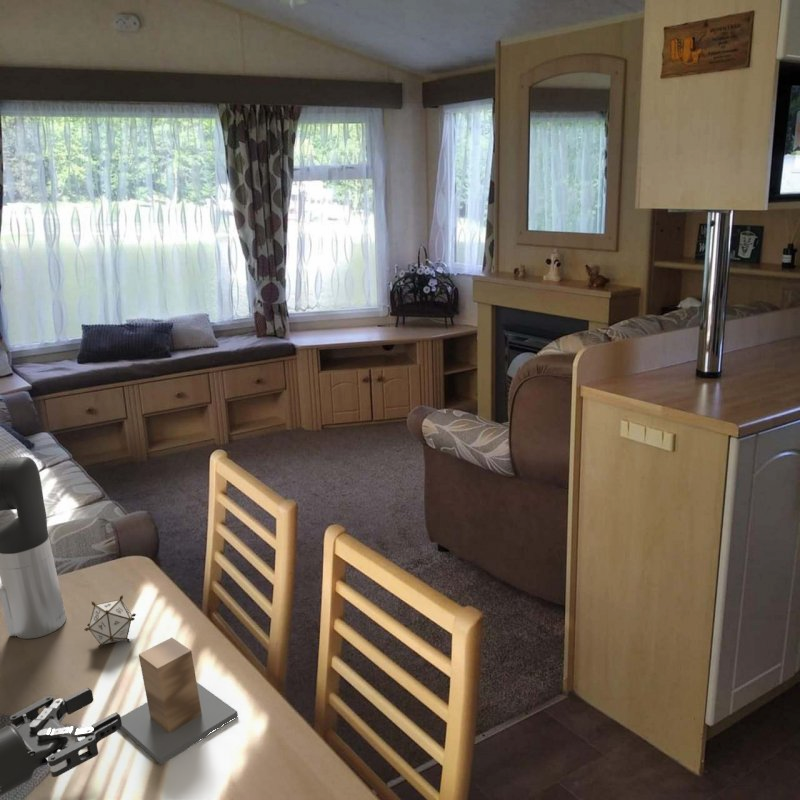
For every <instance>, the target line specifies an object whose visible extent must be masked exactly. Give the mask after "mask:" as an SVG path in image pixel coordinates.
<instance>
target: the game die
mask: <svg viewBox="0 0 800 800" xmlns="http://www.w3.org/2000/svg"><path fill="white" fill-rule="evenodd" d="M123 598H124V595H122V594H121V596H120V597H119V599H115V600H112V601H105V602H102V603H97V604H96V602H94V601H90V602H91V605H92V606H93V610H92V613H91V616H90V620H89V621H90V622H89V623H87V624H86V625H87V627H85V628H84V629H83V631H86V632H87V631H89V632H90V633H91V634H92V636H93V637H94V638H95V640H96V641H97V642H98V644H99V645H98V650H101V648H103V645H107V644H112V643H117V642H120V641H121V642H122V641H125V640H126V641H125V642H127V643H131V641H130V638H128V636H129V632H130V627H131V623H132V622H133V621H134V620H136V619H135V618H134V617H136V616H137V614H136V613H131V612H130V611H129V609H128V607H127V606H126V604H125V603H124V602H123Z"/></svg>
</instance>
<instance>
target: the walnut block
mask: <svg viewBox="0 0 800 800" xmlns="http://www.w3.org/2000/svg"><path fill="white" fill-rule="evenodd" d="M138 659H139V665H140V671H141V674H142V680H143V685H144V692H145V696H146V703H147V702H148V707H149V713H150V718H152V719H153V720H154V721H155V722H156V723H158V724H159V725H160V726H161V727H162V728H163V729H165V730H166V731H167V732H168V733H171V732H172V731H174V730H176V729H177V728H179V727H181V726H183V725H184V724H186V723H188V722H189V721H191V720H193V719H194V718H196V717H198V716H199V715H201V714H202V712H201V706H200V700H199V694H198V688H197V683H198V682H197V677H196V672H195V671H196V670H195V666H194V660H193V652H192V650H191V649H190V648H188V647H186V646H185V645H184V644H183V643H181V642H179V641H178V640H177V639H175V638H174V637H170V638H168V639H166V640H164V641H162V642H159V643H158V644H156V645H154V646H152V647H150V648H147V649H146V650H144V651H142V652H141V653H139V654H138Z"/></svg>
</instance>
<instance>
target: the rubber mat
mask: <svg viewBox="0 0 800 800" xmlns="http://www.w3.org/2000/svg"><path fill="white" fill-rule="evenodd" d="M197 688H198V694H199V700H200V706H201V712H202V714H201V715H199V716H198V717H196V718H194V719H193V720H191V721H189V722H188V723H186V724H184V725H183V726H181V727H179V728H177V729H176V730H174V731H172V732H171V733H168V732H167V731H166V730H165V729H163V728H162V727H161V726H160V725H159V724H158V723H156V722H155V721H154V720H153V719H152V718H150V713H149V707H148V702H147V701H146V702H145V703H142V705H139V706H138V707H136V708H133V710H130V711H129V712H127V713H125V714H123V715H122V716H120V717H121V722H122V726H121V728H120V729H121V731H122V732H124V733H125V734H126V735H127V736H128V737H129V738H130V737H131V738H132V739H131V738H130V739H131V740H132V741H133V742H135V743H136V742H137V743H138V744H137V743H136V744H137V745H138V747H140V748H141V749H143V750H144V751H145V752H146V753H147V754H148V755H149V756H150V757H151V758H152V759H153V760H155V761H156V762H157V763H158V764H159V765H160V766H161V765H163V764H165V763H166V762H168V761H170V760H171V759H173V758H174V757H176V756H178V755H179V754H181V753H183V752H184V751H186V750H188V749H189V748H191V747H192V746H194V745H195V744H197V743H199V742H200V741H201V740H200V739H202V738H203V739H205V738H206V737H205V736H207V735H208V734H209V733H210V732H212V731H213V730H215V729H217V728H219V727H221V726H222V725H223V724H225V723H227V722H229V721H230V720H232V719H234V718H236V717H237V716H238V715H239V714H238V710H236V709H234V708H233V707H232V706H231V705H230V704H228V703H226V702H225V701H223V700H222V699H221V698H219V697H218V696H217V695H215V694H214V693H213V692H212V691H210V690H208V689H207V688H206V687H204V686H203V685H201V684H200V683H199V682H197ZM238 717H239V716H238ZM238 717H237V718H238ZM237 718H236V719H237ZM234 720H235V719H234ZM232 721H233V720H232ZM229 723H230V722H229ZM221 728H222V727H221ZM120 729H119V730H120ZM208 736H209V735H208ZM208 736H207V737H208ZM204 737H205V738H204ZM203 739H202V740H203ZM199 740H200V741H199ZM198 741H199V742H198ZM196 742H197V743H196ZM193 744H194V745H193ZM190 746H191V747H190Z"/></svg>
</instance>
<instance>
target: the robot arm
mask: <svg viewBox="0 0 800 800" xmlns="http://www.w3.org/2000/svg"><path fill="white" fill-rule="evenodd" d="M12 510H13V511H14V510H16V513H17V517H16V518H14V519H12V520H9V521H8V522H6V523H3V524H2V525H0V582H1V587H0V603H1V608H2V612H3V617H4V620H5V624H6V629H7V634H8V636H9V637H16V636H17V638H19V639H26V640H27V639H36V638H41V637H43V636H47V635H49V634H51V633H54V632H55V631H57V630H58V629H60V628H61V627H62V626H63V625H64V624H65V623H66V621H67V616H66V608H65V606H64V605H65V604H64V601H63V596H62V592H61V587H60V583H59V577H58V573H57V569H56V565H55V564H56V563H55V560H54V555H53V554H54V553H53V550H52V545H51V541H50V540H51V539H50V537H49V536H50V535H49V531H48V520H47V512H46V506H45V500H44V494H43V485H42V480H41V473H40V471H39V467H38V465H37V463H36V462H35V461H34V459H32V458H31V457H30V456H16V457H15V456H14V457H6V458H5V457H4V458H3V457H2V458H0V511H1V512H3V511H12ZM93 702H94V694H93V690H91V689H90V688H89V687H86V688H84V689H82V690H79V691H77V692H75V693H74V694H71V695H69V696H67V697H65V698H56V699H55V698H54V696H53V695H47V696H45V697H43V698H41V699H39V700H38V701H35V702H34V703H32V704H30V705H28V706H27V707H25V708H23V709H21V710H19V711H17V712H15V713H13V714H12V715H10V716H9V720H10V725H6V726H3V727H2V728H0V798H1V797H2V796H4V795H6V794H8V793H10V792H12V791H13V790H15V789H17V788H19V787H20V786H22V785H24V784H25V783H28V782H30V780H31V779H32V778H33V775H34V772H35V770H37V769H39V768H40V767H42V766H48V768H49V770H50V774H51V777H52V778H57V777H60V776H61V775H63V774H65V773H67V772H68V771H70V770H72V769H74V768H77V767H78V766H80V765H82V764H85V762H87V761H90V760H91V759H93V758H94V757H95V758H96V757H97V756H98V754H99V748H98V743H99V742H100V741H102V740H103V739H105V738H107V737H109V736H110V735H112V734H114V733H116V732H117V731H119V730H120V728H121V726H122V722H121V717H122V716H121V715H120V714H119V713H118V712H113V713H111V714H110V715H108V716H105V717H104V718H102V719H100V720H99V721H97V722H95V723H93V724H91V726H89V727H82V728H76V727H75V726H65V725H63V724H62V721H63V719H64V718H65V717H66V714H67V715H71V714H74V713H75V712H77V711H79V710H80V709H83V708H84V707H87V706H88V705H91V704H92V703H93ZM44 707H45V708H44ZM42 708H43V710H42V711H41V712H40V713H39V710H40V709H42ZM79 738H82V739H81V740H79ZM68 743H69V745H67V744H68ZM84 750H87V751H85V752H82V753H81V754H80V752H81V751H84Z"/></svg>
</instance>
